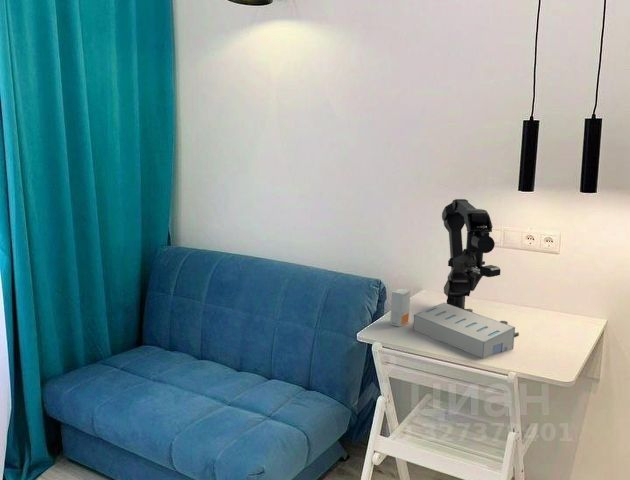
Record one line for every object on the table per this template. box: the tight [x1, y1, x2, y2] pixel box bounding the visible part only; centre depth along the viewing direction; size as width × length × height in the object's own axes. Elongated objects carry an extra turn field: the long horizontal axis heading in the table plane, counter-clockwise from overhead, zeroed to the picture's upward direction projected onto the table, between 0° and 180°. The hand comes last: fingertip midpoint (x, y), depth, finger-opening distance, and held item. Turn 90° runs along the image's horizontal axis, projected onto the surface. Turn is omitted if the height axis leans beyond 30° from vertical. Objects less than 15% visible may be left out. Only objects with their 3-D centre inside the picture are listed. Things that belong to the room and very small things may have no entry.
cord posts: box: [465, 308, 520, 337], centre depth 208 cm, size 8×24×5 cm, turn 34°
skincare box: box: [390, 287, 411, 328], centre depth 209 cm, size 6×4×12 cm
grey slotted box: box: [412, 302, 516, 360], centre depth 196 cm, size 30×14×8 cm, turn 35°
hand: (471, 290), depth 207 cm, fingers closed
